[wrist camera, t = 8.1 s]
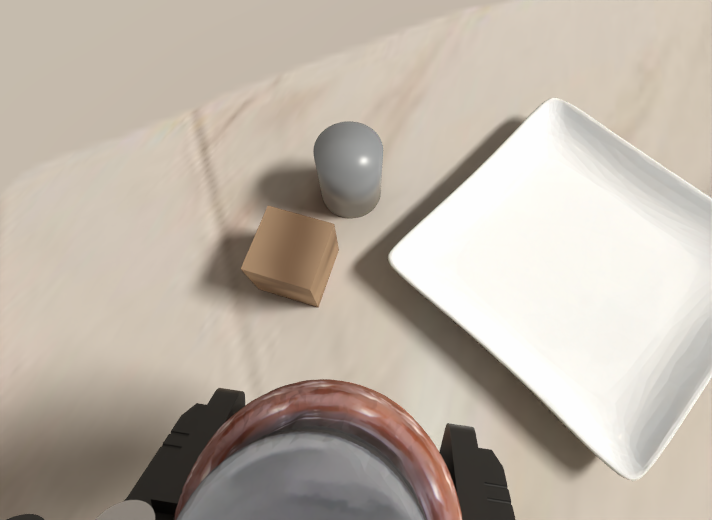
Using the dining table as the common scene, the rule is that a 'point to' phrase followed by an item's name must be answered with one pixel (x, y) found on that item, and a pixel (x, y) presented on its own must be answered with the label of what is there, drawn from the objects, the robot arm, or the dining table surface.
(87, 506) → the dining table surface
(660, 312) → the salad plate
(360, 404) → the supplement bottle
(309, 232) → the walnut cube
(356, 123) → the grey cylinder
